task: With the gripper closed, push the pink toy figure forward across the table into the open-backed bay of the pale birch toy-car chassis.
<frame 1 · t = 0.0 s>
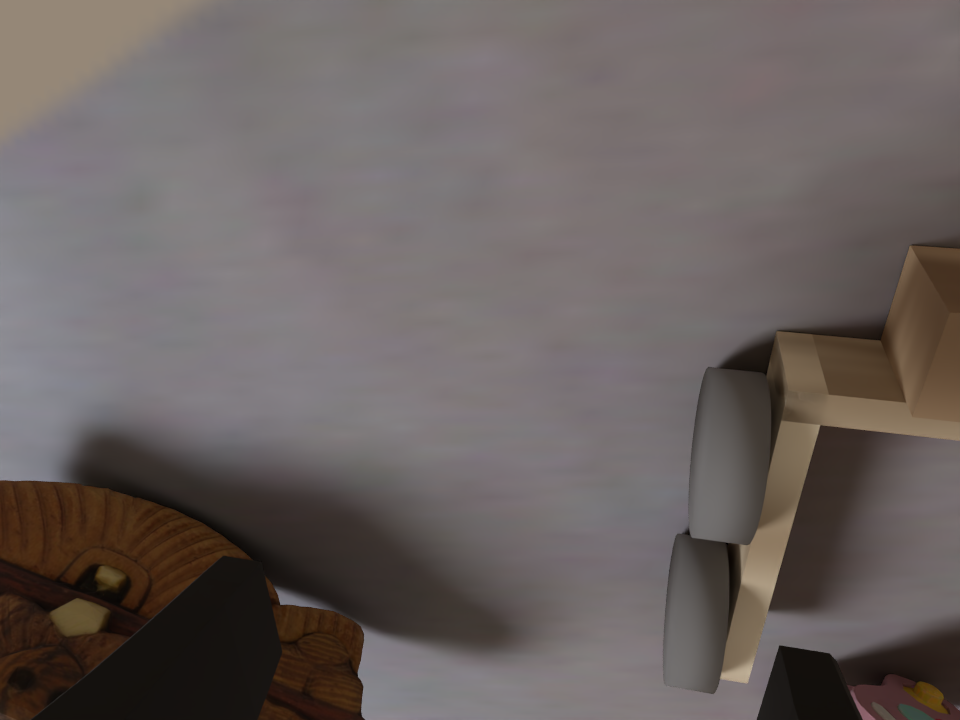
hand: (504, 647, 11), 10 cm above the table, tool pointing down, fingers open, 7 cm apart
pink toy figure: (939, 701, 24), on the table
wooden carving: (193, 531, 28), on the table
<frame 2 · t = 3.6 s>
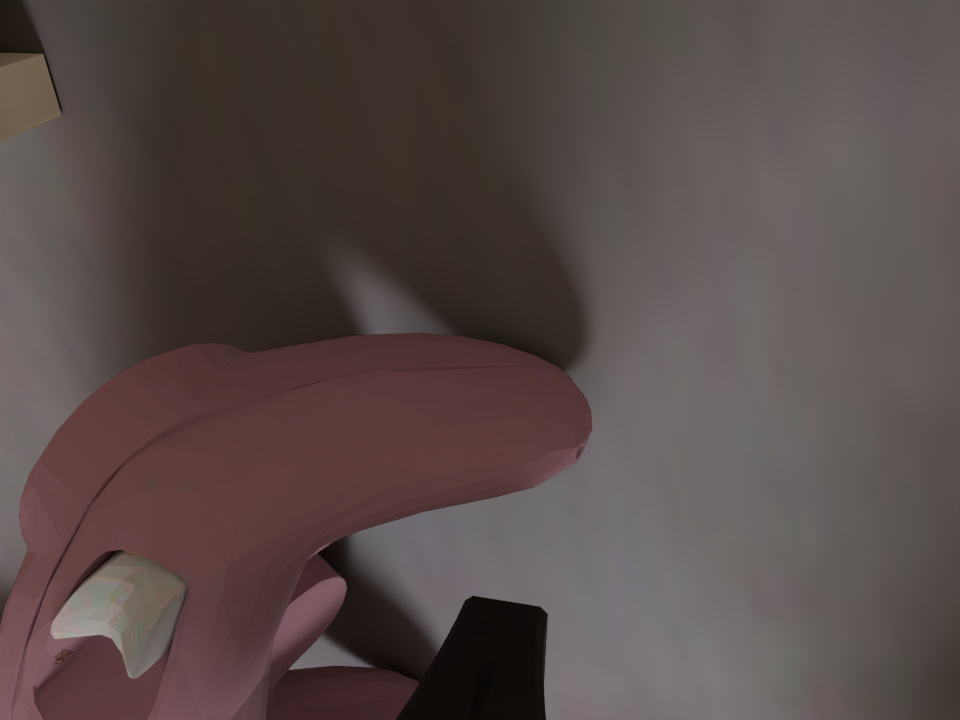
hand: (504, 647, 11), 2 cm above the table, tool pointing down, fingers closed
pink toy figure: (358, 505, 14), on the table, touching gripper
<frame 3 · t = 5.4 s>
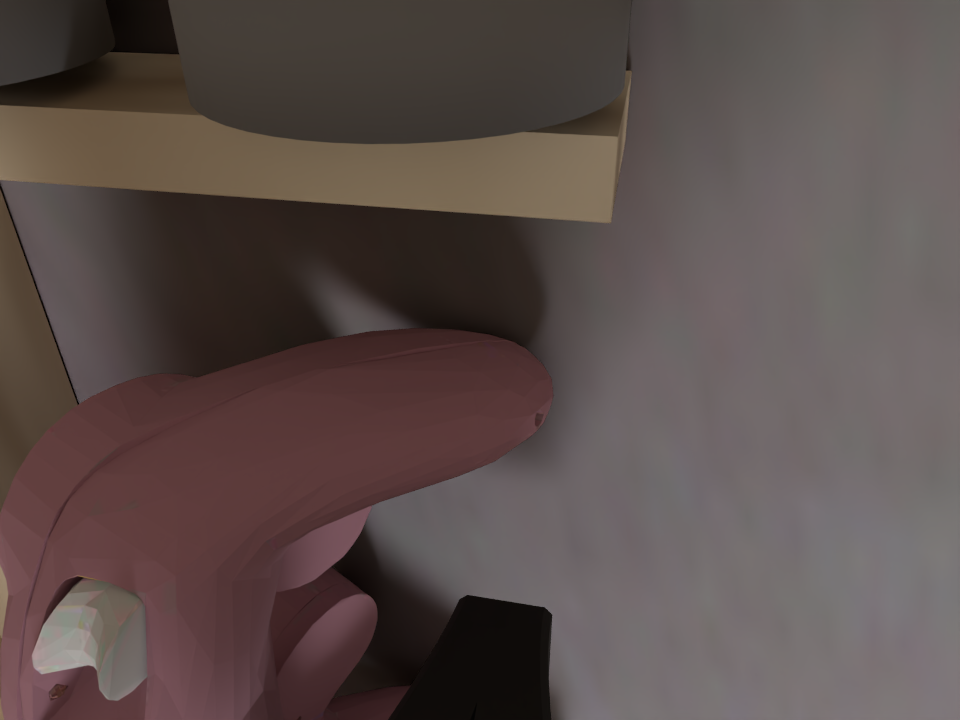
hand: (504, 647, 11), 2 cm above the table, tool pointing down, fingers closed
pink toy figure: (372, 520, 14), on the table, touching gripper
chassis: (329, 498, 14), on the table
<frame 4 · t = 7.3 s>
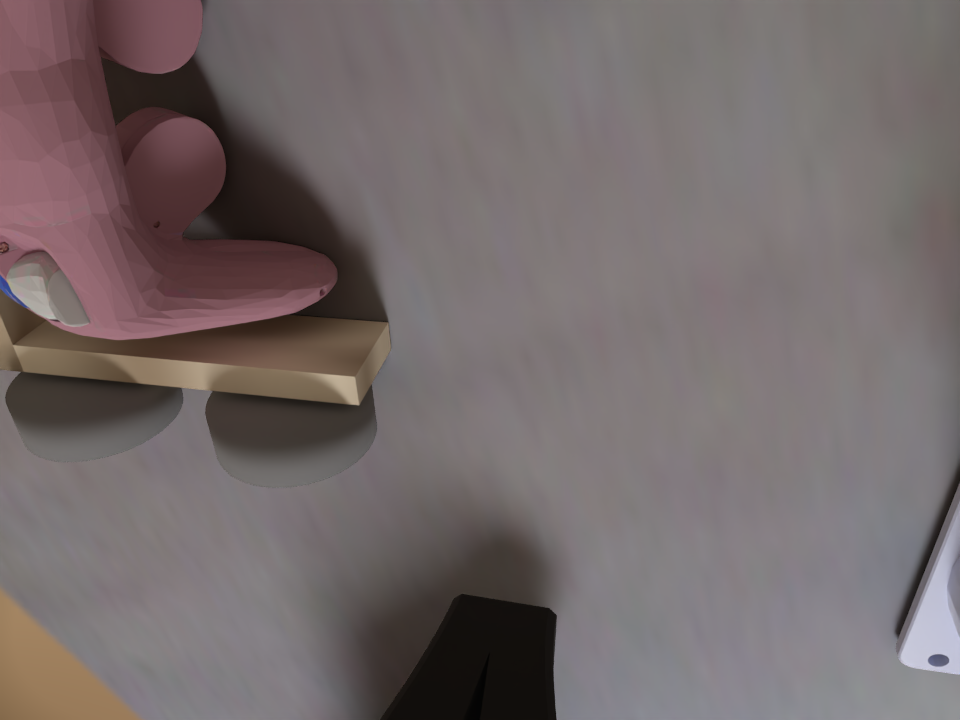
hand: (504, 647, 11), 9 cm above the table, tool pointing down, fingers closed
pink toy figure: (216, 78, 18), on the table
chassis: (164, 50, 17), on the table
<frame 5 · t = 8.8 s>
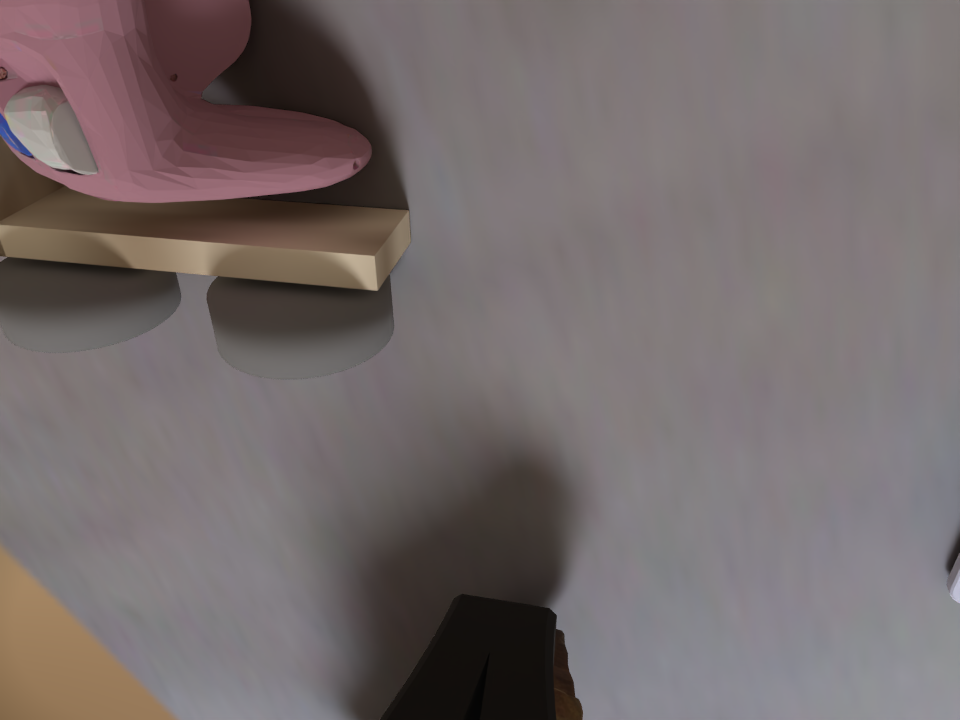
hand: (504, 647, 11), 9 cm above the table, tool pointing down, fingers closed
wooden carving: (456, 691, 28), on the table
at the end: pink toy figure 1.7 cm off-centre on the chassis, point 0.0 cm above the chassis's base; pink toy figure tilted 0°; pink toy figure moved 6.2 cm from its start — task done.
